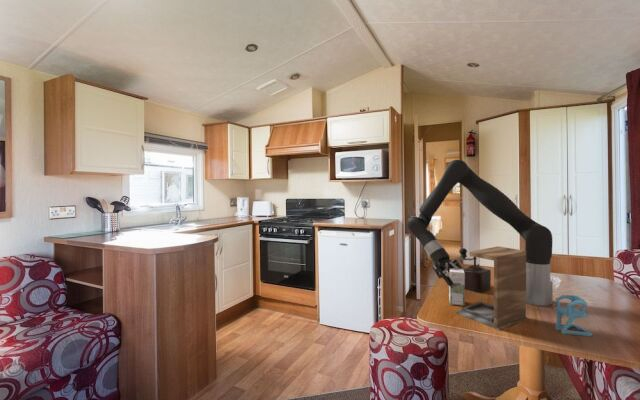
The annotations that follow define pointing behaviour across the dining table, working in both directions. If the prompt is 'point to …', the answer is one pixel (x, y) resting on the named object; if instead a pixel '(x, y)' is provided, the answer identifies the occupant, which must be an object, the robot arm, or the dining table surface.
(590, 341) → the dining table surface
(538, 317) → the dining table surface
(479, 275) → the coffee grinder
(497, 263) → the walnut shelf
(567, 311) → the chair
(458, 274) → the syrup box
